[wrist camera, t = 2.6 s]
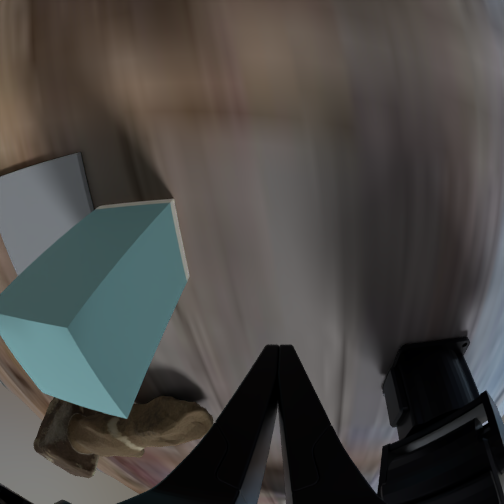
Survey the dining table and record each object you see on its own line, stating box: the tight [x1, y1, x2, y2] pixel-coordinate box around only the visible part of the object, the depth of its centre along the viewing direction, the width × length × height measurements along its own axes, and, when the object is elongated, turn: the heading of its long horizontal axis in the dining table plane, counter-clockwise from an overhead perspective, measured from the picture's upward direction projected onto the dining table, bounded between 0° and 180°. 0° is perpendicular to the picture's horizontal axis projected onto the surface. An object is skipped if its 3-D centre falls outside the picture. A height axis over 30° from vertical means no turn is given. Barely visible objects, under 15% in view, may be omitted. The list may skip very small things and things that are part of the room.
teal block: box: [0, 199, 190, 419], centre depth 13 cm, size 5×5×10 cm
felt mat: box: [0, 152, 94, 276], centre depth 18 cm, size 11×12×1 cm
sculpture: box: [34, 396, 213, 478], centre depth 27 cm, size 8×22×15 cm
